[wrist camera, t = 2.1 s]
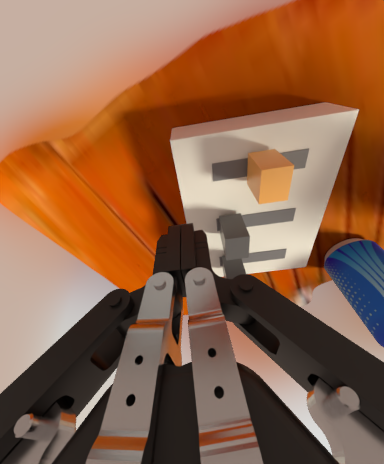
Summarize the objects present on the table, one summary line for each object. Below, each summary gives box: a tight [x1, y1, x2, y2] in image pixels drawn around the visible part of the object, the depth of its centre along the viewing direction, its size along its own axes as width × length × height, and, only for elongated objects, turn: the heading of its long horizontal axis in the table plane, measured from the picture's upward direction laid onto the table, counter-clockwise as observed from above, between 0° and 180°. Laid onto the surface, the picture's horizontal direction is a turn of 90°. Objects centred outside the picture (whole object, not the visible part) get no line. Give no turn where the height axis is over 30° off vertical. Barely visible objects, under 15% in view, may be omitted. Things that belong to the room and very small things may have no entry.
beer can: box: [324, 238, 384, 347], centre depth 28 cm, size 8×8×16 cm
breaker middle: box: [219, 213, 250, 260], centre depth 21 cm, size 2×3×4 cm
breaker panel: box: [170, 102, 359, 277], centre depth 25 cm, size 16×20×5 cm
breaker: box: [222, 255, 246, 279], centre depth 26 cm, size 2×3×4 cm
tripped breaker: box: [247, 149, 294, 204], centre depth 17 cm, size 2×3×4 cm
